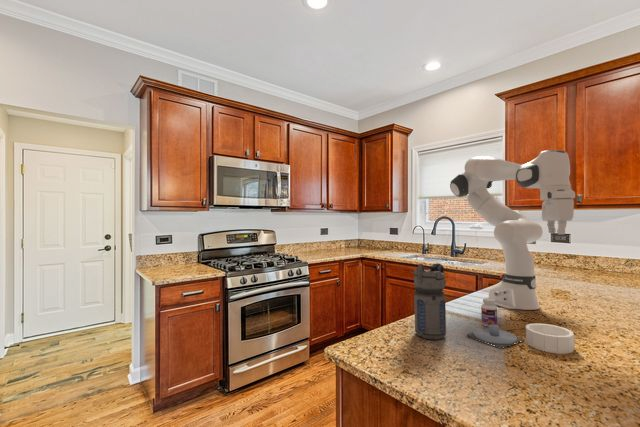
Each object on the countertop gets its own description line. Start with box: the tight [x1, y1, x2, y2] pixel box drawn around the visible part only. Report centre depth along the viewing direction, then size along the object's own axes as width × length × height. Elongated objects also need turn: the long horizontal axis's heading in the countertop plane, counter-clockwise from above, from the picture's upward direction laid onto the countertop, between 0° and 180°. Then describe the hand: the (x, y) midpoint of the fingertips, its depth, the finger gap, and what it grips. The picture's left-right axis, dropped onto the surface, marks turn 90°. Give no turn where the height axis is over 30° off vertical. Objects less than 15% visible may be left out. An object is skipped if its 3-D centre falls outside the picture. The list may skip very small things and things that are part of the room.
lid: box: [473, 324, 518, 345], centre depth 105 cm, size 13×13×4 cm
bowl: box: [525, 322, 575, 355], centre depth 98 cm, size 12×12×5 cm
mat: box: [466, 332, 525, 349], centre depth 105 cm, size 12×12×1 cm
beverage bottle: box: [413, 262, 447, 341], centre depth 109 cm, size 10×13×25 cm
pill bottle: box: [480, 297, 499, 328], centre depth 118 cm, size 5×5×10 cm
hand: (556, 233), depth 111 cm, fingers open, 8 cm apart
